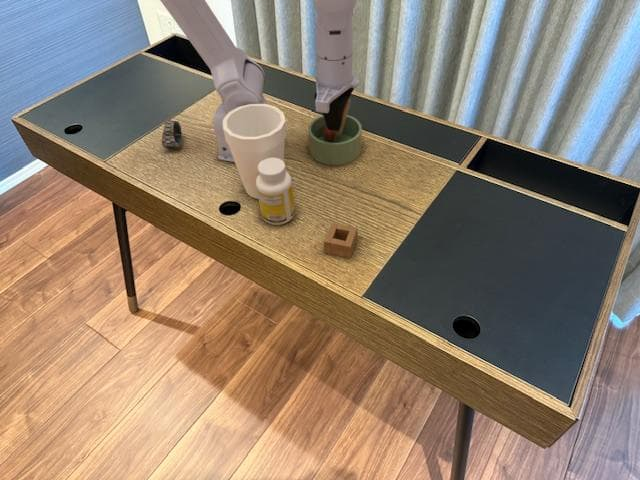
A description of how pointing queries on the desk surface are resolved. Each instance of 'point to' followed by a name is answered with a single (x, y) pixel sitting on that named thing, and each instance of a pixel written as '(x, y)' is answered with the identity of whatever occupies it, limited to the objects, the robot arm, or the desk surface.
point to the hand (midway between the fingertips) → (335, 126)
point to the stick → (339, 133)
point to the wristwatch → (171, 135)
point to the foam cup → (254, 139)
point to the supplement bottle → (275, 192)
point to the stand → (340, 240)
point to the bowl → (331, 151)
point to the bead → (328, 134)
